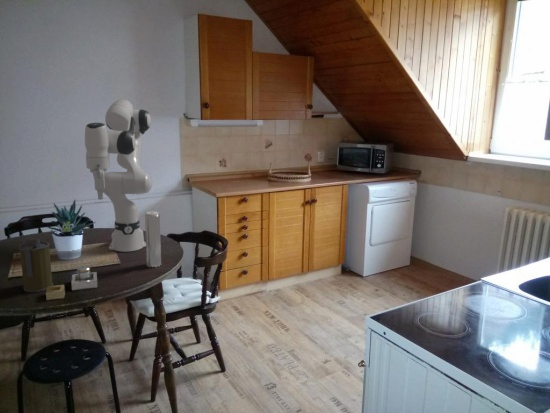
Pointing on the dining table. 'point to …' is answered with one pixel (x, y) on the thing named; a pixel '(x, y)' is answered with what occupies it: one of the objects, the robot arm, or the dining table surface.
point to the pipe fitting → (84, 273)
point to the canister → (35, 265)
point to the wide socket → (84, 282)
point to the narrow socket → (55, 292)
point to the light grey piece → (153, 239)
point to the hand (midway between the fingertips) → (100, 196)
